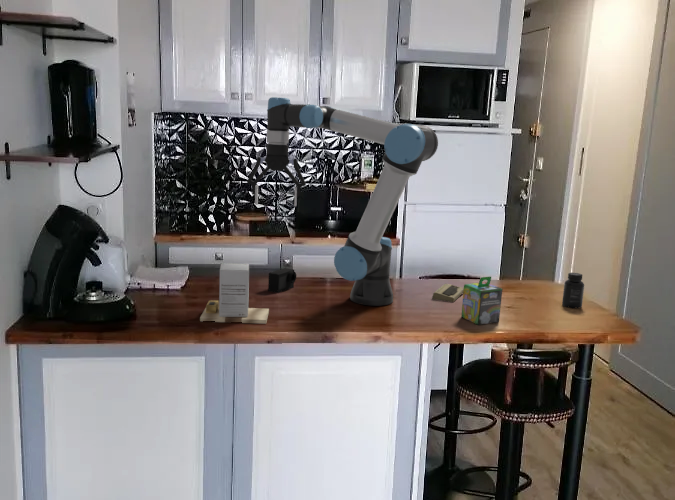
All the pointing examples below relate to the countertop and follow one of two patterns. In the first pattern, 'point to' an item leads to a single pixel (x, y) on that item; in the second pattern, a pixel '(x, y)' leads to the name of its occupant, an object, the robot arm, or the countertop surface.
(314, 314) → the countertop surface
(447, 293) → the tan flat block
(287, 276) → the digital camera
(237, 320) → the plywood board
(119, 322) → the countertop surface
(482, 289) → the chalk box
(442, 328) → the countertop surface
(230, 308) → the supplement box
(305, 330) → the countertop surface
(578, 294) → the supplement bottle
